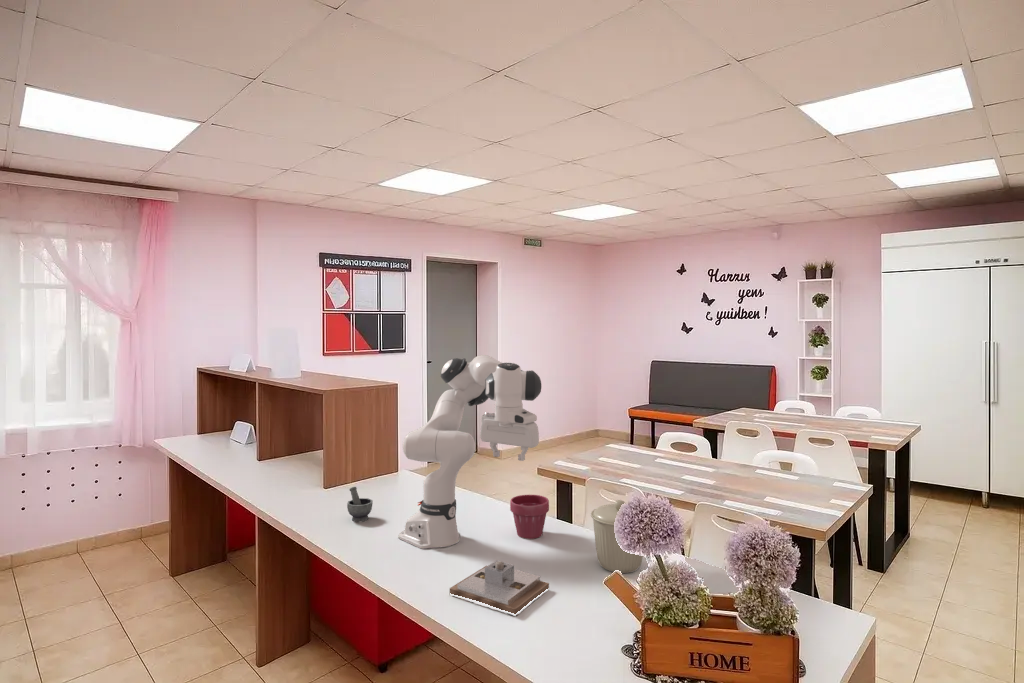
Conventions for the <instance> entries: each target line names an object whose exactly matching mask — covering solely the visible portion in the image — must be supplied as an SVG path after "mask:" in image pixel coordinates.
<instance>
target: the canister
mask: <svg viewBox="0 0 1024 683" xmlns="http://www.w3.org/2000/svg"><path fill="white" fill-rule="evenodd" d="M624 503H625V504H626V502H625V501H624V500H622V499H617V500H615V501H614V503H613V504H612V503H611V504H610V503H609V504H604V505H600V506H598V507H596V508H594V509H593V510H592V511H591V512H590V517H591V518H592V521H593V531H594V541H595V550H596V557H597V561H598V563H599V564H600V567H602V568H603V569H605V570H606V571H609V572H612V573H614V572H613V571H615V570H619V571H621V573H620V574H627V573H628V574H629V573H632V572H635V571H637V570H638V569H639V568H641V565H642V561H643V557H644V555H643V556H639V555H635V554H630V553H627V552H625V551H623V550H622V549H621V548H620V546H619V545H618V543H617V541H616V538H615V533H614V522H615V518H616V515H617V512H618V511H619V509H620V507H621V505H622V504H624Z"/></svg>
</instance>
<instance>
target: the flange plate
mask: <svg viewBox="0 0 1024 683" xmlns="http://www.w3.org/2000/svg"><path fill="white" fill-rule="evenodd" d="M498 561H499V560H495V561H494V562H492V563H490V564H488V565H486V566H487V567H485V566H484V567H485V568H483V567H482V568H483V569H482V568H481V569H482V570H480V569H479V570H480V571H479V572H477V571H476V572H477V573H475V572H474V573H475V574H474V573H473V574H474V575H472V574H471V575H472V576H470V575H469V576H470V577H469V576H468V577H469V578H467V577H466V578H467V579H466V580H464V579H463V580H464V581H462V580H461V581H462V582H461V581H460V582H461V583H459V582H458V583H459V584H458V590H460V591H463V592H466V593H469V594H472V595H476V596H479V597H482V598H485V599H488V600H491V601H494V602H497V603H500V604H504V605H507V606H509V605H510V604H511V603H513V602H514V601H515V600H517V599H518V598H519V597H521V596H522V595H523V594H525V593H526V592H527V591H529V590H530V589H531V588H532V587H534V586H535V585H536V584H538V583H539V582H540V581H541V576H540V575H537V574H533V573H529V572H526V571H524V570H523V571H522V570H520V569H515V565H514V564H512V563H511V564H510V563H507V562H504V568H503V569H502V570H500V569H496V568H495V563H496V562H498ZM482 575H484V576H485V579H482V578H480V576H482ZM515 586H520V588H521V589H520V590H519V589H515V588H514V587H515Z"/></svg>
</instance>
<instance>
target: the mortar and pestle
mask: <svg viewBox="0 0 1024 683" xmlns="http://www.w3.org/2000/svg"><path fill="white" fill-rule="evenodd" d="M357 489H358V488H357V486H352V487H350V488H349V491H350V494H351V499H350V500H348V501H347V503H346V504H347V505H346V506H347V511H348V514H349V515H350V516H351V518H352V519H351V521H352V522H355V523H362V522H365V521H366V522H367V521H369V515H370V514H371V512H372V511H373V501H374V500H373V499H370V498H365V497H364V498H363V497H360V496H359V494H358V491H357Z"/></svg>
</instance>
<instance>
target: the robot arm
mask: <svg viewBox="0 0 1024 683" xmlns="http://www.w3.org/2000/svg"><path fill="white" fill-rule="evenodd" d="M440 377H441V379H442V380H443V381H444V383H445V384H447V385H449V387H451V388H452V389H447V390H445V391H443V393H441V395H440V397H439V398H438V399H437V401H436V404H435V406H434V407H435V408H434V409H433V412H432V415H431V418H430V419H429V420H428V421H427V422H426V423H425V424H423V425H422V426H421V427H419V428H417V429H415V430H412V431H409V432H408V433H407V434H406V435H405V437H404V438H403V441H402V452H403V454H404V456H405V457H406V458H407V459H408V460H411V461H416V462H419V463H420V462H422V463H423V462H424V463H429V462H431V463H439V465H440V466H439V468H438V469H436V470H434V471H432V472H430V473H428V474H427V475H426V476H425V477H424V480H423V486H422V487H423V499H422V500H421V501H418V502H417V506H418V507H419V506H420V507H419V510H417V512H415V513H414V514H412V515H411V516H410V517H408V519H407V520H406V522H405V526H404V530H403V531H401V532H400V533H399V534H398V536H397V538H398V539H400V540H402V541H404V542H406V543H408V544H410V545H412V546H415V547H417V548H420V549H422V550H423V549H431V548H445V547H450V546H452V545H455V544H457V543H458V542H459V541H460V540H461V539H460V535H459V530H458V525H457V517H456V514H457V500H456V483H457V477H458V474H459V471H460V470H461V469H462V467H463V466H464V465H465V464H466V463H467V462H469V461H470V460H471V459H472V457H473V456H474V454H475V452H476V447H477V446H476V441H475V438H474V437H473V435H472V434H471V433H469V432H465V431H460V427H461V424H462V420H463V417H464V410H465V407H466V405H468V406H469V407H473V406H478V405H482V404H484V403H486V402H487V400H489V399H490V400H492V401H495V402H494V412H493V413H491V412H485V413H483V415H482V416H481V426H480V434H479V438H480V440H481V441H482V442H484V443H485V442H486V443H489V446H490V448H491V451H492V456H493V457H494V458H499V457H500V456H501V455H500V454H501V451H500V450H498V447H497V445H498V444H499V445H501V444H502V445H507V446H513V447H514V446H516V447H520V450H521V452H520V453H519V454H518V455H517V457H518V458H517V460H518V461H520V462H524V461H525V460H526V456H525V455H526V454H527V452H528V450H529V448H530V449H532V448H536V447H537V446H539V444H540V442H539V441H540V436H539V434H540V433H539V427H538V426H539V425H538V424H537V420H538V417H537V414H535V413H533V412H532V411H529V410H527V409H525V408H523V407H524V405H523V401H533V402H534V400H535V399H537V398H538V397H539V395H540V394H541V393H542V380H541V378H540V376H539V375H538V373H537V372H535V371H534V370H526V371H525V370H523V369H522V368H521V366H520V365H519V364H517V363H514V362H502V361H500V360H497V359H496V358H494V357H493V356H489V355H486V354H481V355H477V356H475V357H474V358H473V359H472V360H471V361H470V362H468V361H467V359H466V358H463V357H462V358H458V357H457V358H456V357H455V358H451V359H449V360H448V361H447V362H446V363H444V365H443V367H442V369H441V371H440Z"/></svg>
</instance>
